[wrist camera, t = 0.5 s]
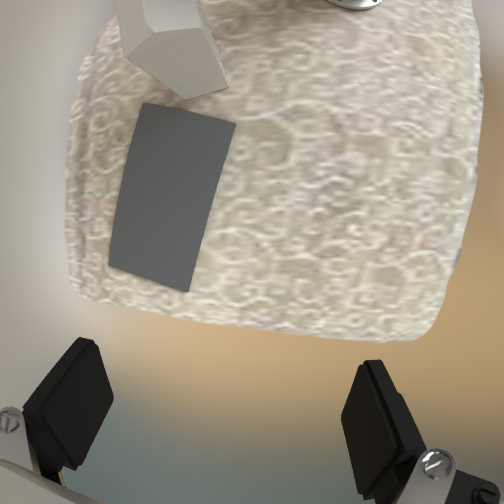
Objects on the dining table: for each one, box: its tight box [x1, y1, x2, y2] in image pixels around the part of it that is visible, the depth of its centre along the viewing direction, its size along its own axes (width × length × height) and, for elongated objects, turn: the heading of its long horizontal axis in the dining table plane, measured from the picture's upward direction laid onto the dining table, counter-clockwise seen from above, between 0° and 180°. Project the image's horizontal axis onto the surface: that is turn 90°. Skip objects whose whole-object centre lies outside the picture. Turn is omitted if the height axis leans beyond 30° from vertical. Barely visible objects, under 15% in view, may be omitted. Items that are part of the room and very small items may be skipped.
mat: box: [108, 103, 236, 292], centre depth 37 cm, size 24×13×1 cm, turn 163°
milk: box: [116, 0, 229, 100], centre depth 22 cm, size 6×6×22 cm
